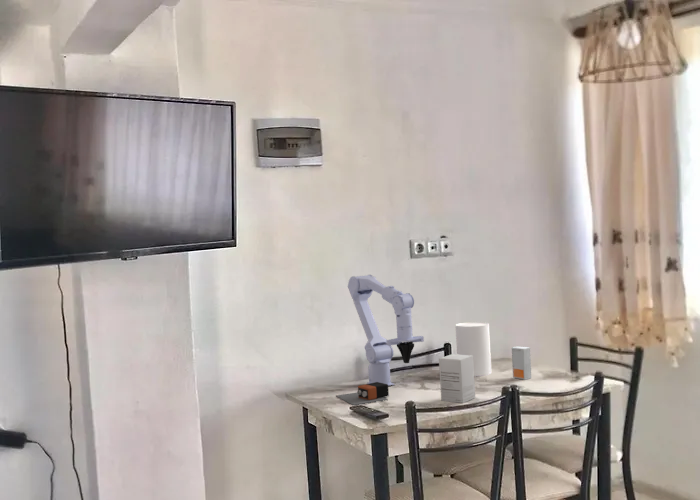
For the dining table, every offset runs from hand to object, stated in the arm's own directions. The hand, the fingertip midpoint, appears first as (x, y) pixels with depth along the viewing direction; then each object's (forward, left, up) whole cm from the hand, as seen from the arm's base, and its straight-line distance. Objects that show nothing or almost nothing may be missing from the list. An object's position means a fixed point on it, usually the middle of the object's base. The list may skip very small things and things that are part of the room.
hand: (406, 362), depth 270 cm
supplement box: (+23, +8, -11) cm, 27 cm away
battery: (+2, -11, -8) cm, 14 cm away
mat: (+1, -20, -10) cm, 22 cm away
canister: (-13, +37, -11) cm, 41 cm away
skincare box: (+7, +46, -11) cm, 48 cm away
